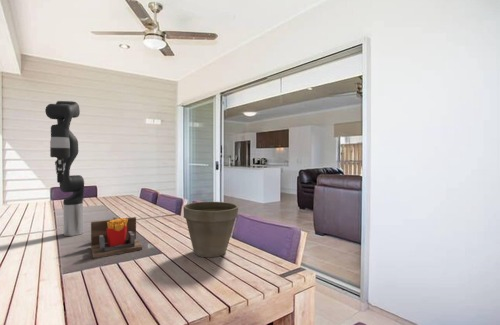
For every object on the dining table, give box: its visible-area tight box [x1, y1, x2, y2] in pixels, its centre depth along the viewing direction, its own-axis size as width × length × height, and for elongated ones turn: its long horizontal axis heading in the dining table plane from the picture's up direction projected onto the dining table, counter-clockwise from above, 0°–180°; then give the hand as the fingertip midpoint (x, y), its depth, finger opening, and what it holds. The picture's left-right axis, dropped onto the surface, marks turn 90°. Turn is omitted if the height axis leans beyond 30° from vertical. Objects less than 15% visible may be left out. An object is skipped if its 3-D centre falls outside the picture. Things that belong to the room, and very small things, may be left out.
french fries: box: [107, 217, 128, 247], centre depth 127 cm, size 9×4×13 cm, turn 140°
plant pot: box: [182, 201, 239, 258], centre depth 125 cm, size 25×25×22 cm
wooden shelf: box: [90, 216, 143, 259], centre depth 129 cm, size 17×20×12 cm
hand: (60, 181), depth 127 cm, fingers open, 8 cm apart
